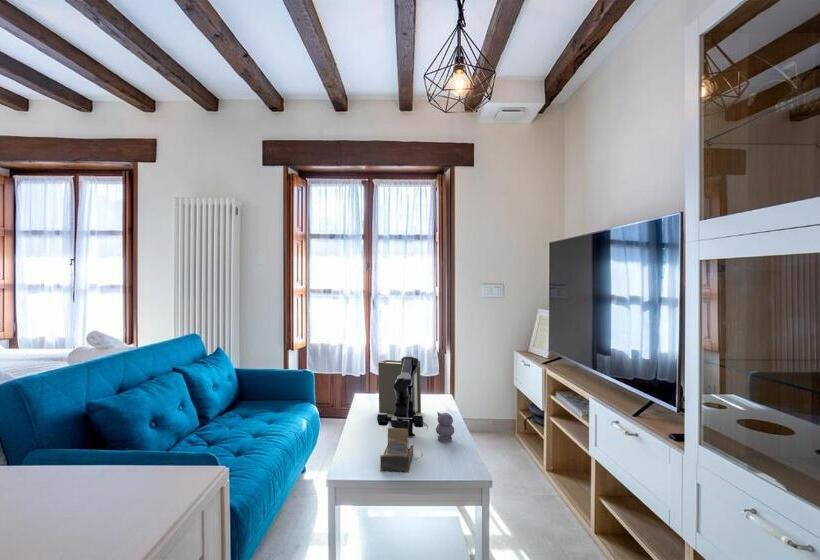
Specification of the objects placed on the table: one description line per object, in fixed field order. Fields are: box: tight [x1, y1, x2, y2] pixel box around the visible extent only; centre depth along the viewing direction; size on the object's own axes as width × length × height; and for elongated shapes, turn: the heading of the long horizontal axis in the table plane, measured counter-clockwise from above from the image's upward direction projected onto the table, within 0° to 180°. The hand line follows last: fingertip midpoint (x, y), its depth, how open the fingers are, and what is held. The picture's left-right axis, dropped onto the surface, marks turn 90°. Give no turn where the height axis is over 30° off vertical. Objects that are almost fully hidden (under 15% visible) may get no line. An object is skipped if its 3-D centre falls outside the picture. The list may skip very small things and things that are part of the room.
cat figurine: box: [435, 411, 455, 444], centre depth 184 cm, size 8×8×12 cm
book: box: [377, 359, 422, 415], centre depth 224 cm, size 22×9×28 cm, turn 65°
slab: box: [386, 427, 409, 457], centre depth 160 cm, size 6×8×10 cm
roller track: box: [379, 444, 414, 474], centre depth 162 cm, size 17×11×6 cm, turn 174°
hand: (398, 440), depth 163 cm, fingers closed, pressing on slab
